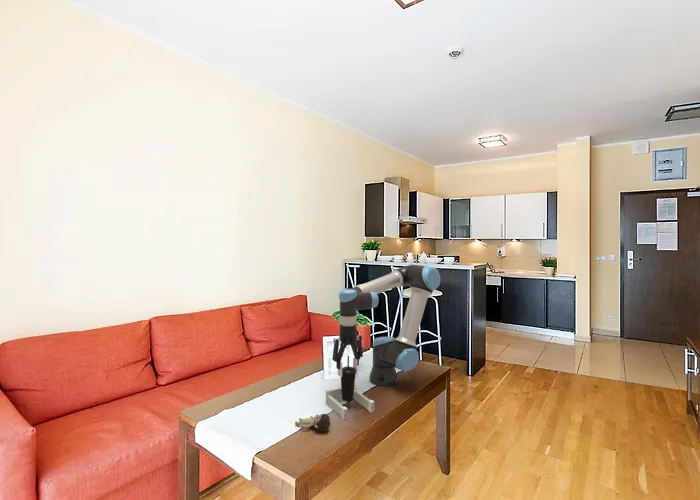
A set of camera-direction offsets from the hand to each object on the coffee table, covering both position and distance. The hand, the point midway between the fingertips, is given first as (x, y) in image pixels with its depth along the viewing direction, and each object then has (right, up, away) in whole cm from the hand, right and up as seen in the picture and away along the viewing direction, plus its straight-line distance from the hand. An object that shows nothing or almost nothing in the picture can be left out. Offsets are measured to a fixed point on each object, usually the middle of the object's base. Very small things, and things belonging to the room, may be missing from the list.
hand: (347, 374), depth 171 cm
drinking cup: (0, -12, +1) cm, 12 cm away
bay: (+1, -15, -1) cm, 15 cm away
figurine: (-14, -16, -19) cm, 28 cm away
